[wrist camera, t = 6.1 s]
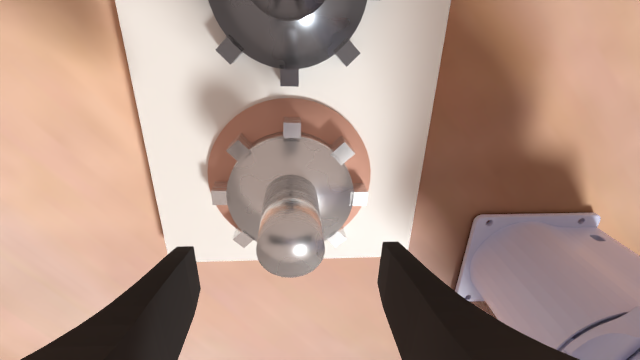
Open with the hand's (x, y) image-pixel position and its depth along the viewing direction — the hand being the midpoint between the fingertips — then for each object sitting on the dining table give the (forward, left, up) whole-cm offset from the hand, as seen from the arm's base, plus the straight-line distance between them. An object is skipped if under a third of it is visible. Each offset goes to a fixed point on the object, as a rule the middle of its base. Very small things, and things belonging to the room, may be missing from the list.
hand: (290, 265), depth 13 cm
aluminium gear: (0, +1, -8) cm, 8 cm away
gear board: (0, -5, -9) cm, 10 cm away
